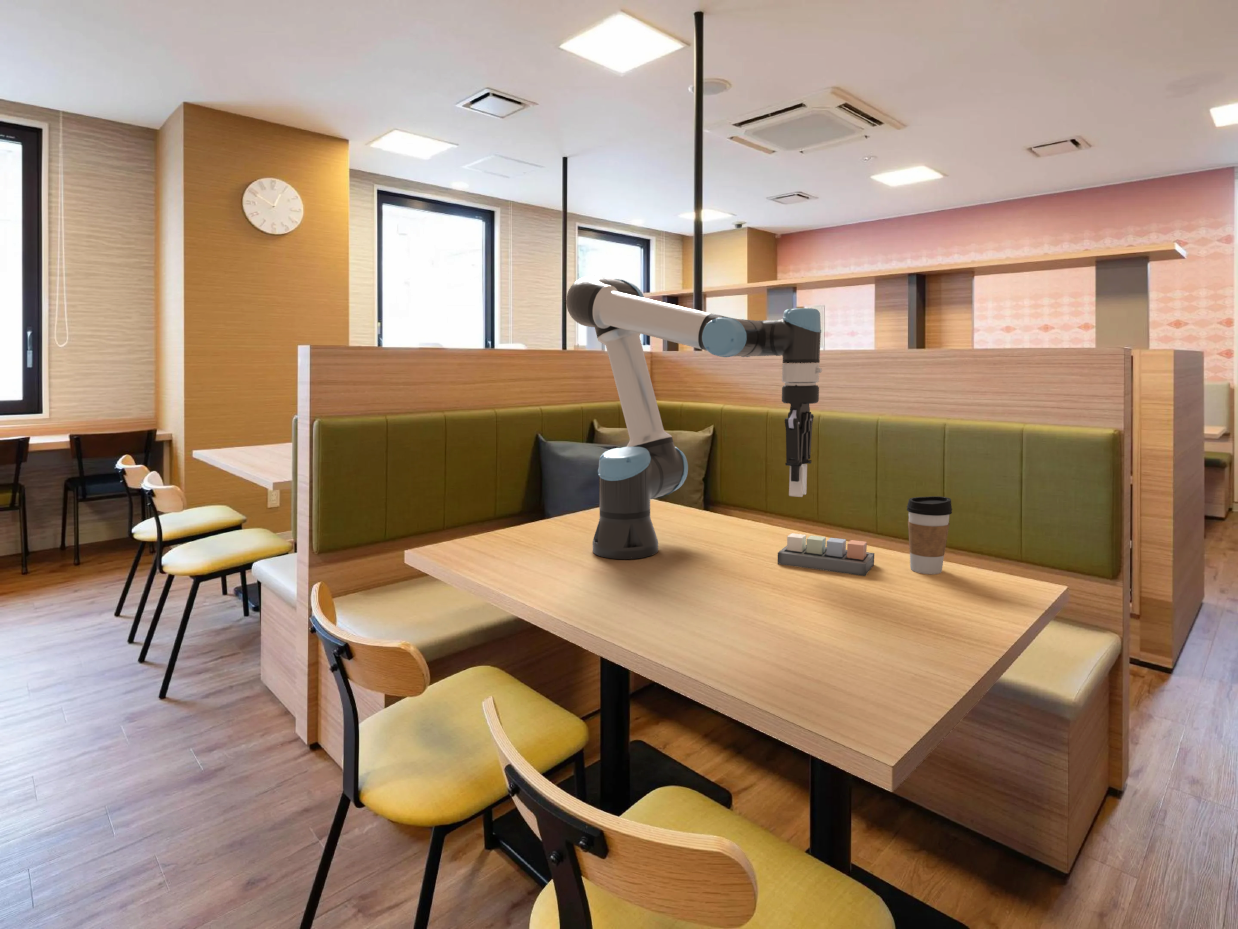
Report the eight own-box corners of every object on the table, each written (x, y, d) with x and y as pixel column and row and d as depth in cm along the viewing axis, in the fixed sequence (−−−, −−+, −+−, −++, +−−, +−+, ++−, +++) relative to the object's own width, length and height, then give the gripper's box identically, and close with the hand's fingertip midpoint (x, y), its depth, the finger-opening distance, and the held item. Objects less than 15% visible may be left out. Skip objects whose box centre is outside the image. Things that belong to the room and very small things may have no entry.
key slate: (826, 555, 145) (826, 541, 145) (830, 551, 148) (830, 537, 148) (841, 557, 144) (842, 543, 143) (845, 553, 146) (846, 539, 146)
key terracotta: (846, 557, 143) (847, 543, 143) (850, 553, 146) (850, 540, 145) (863, 559, 142) (863, 545, 141) (866, 555, 144) (866, 541, 144)
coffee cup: (953, 577, 137) (958, 503, 135) (908, 575, 139) (911, 501, 137) (942, 565, 146) (946, 494, 143) (900, 563, 147) (903, 493, 145)
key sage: (806, 552, 147) (806, 538, 147) (810, 548, 150) (810, 535, 150) (821, 554, 146) (821, 540, 145) (825, 550, 148) (825, 537, 148)
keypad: (777, 564, 148) (777, 552, 148) (790, 553, 156) (790, 542, 155) (865, 576, 139) (865, 564, 139) (874, 564, 147) (874, 553, 146)
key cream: (786, 550, 150) (787, 536, 149) (791, 546, 152) (791, 533, 152) (801, 551, 148) (802, 538, 147) (805, 548, 151) (806, 534, 150)
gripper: (808, 385, 136) (805, 503, 140) (827, 383, 149) (824, 490, 153) (771, 385, 140) (769, 499, 144) (793, 382, 153) (790, 487, 157)
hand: (797, 494), depth 148 cm, fingers open, 2 cm apart
